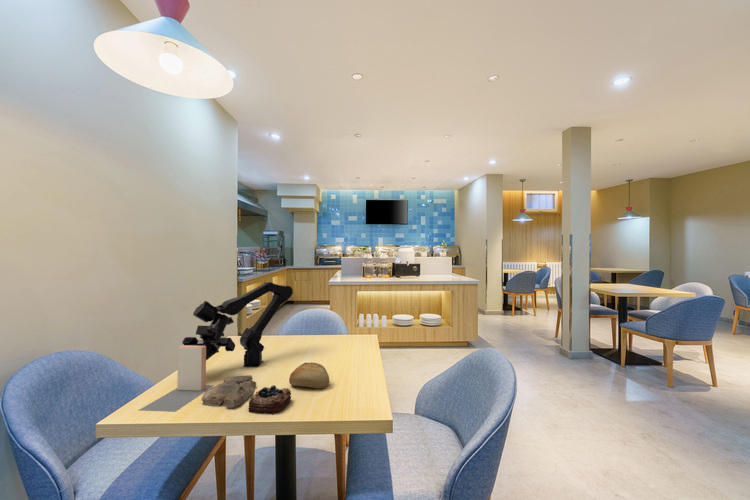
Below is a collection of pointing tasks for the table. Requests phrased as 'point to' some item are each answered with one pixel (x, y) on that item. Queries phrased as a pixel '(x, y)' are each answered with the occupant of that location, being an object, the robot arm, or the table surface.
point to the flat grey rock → (230, 392)
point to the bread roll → (310, 376)
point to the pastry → (270, 400)
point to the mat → (174, 400)
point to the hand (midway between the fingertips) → (199, 364)
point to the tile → (191, 368)
